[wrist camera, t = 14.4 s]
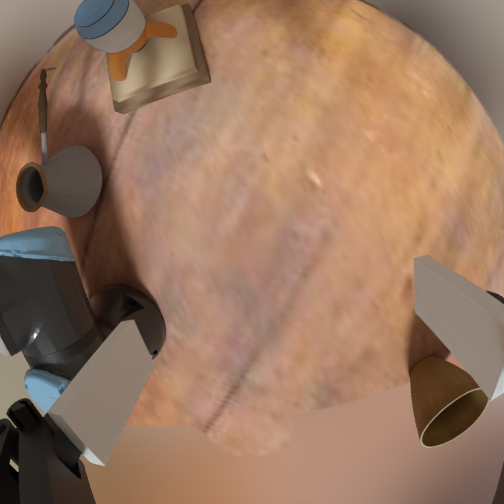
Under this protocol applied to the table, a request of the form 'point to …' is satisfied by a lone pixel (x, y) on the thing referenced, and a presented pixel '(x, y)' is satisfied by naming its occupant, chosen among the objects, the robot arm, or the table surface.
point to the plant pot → (444, 401)
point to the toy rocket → (117, 30)
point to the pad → (176, 83)
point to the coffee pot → (59, 174)
